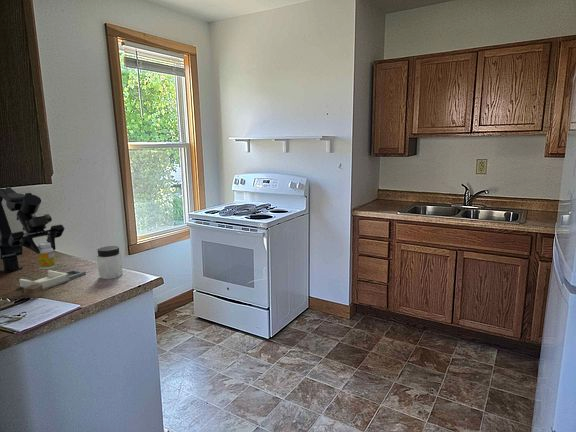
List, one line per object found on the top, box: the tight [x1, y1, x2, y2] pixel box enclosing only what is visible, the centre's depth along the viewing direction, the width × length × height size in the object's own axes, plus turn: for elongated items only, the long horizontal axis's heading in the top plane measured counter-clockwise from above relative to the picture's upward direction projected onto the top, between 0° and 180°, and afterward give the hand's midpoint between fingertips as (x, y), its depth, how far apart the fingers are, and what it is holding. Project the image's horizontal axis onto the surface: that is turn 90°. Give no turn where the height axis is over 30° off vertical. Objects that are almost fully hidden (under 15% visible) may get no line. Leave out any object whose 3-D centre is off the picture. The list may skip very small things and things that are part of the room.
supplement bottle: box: [37, 241, 56, 270], centre depth 146 cm, size 5×5×10 cm
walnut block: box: [23, 285, 44, 300], centre depth 133 cm, size 4×4×4 cm
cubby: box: [18, 269, 70, 291], centre depth 146 cm, size 12×12×3 cm
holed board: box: [63, 268, 87, 281], centre depth 155 cm, size 8×8×1 cm
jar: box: [96, 245, 124, 280], centre depth 153 cm, size 9×8×12 cm
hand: (47, 251), depth 145 cm, fingers closed on supplement bottle, 5 cm apart
